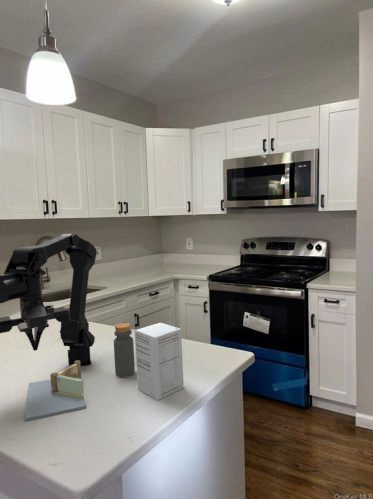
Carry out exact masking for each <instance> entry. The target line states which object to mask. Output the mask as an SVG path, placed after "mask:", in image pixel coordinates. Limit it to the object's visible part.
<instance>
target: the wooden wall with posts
mask: <svg viewBox="0 0 373 499" xmlns="http://www.w3.org/2000/svg"><path fill="white" fill-rule="evenodd" d="M81 368H82V366H81V367H80V361H79V360H77V361H75V364H73V365H71V366H70V365H69V366H68V367H66V368H64V369H62V370H61V371H59V372H52V373H50V375H49V376H50V378H49V379H51V391H52V392H57V391H58V387H57V376H59V375H62V376H67V377H72V378H78V377H80V376H81V377H80V379H81V380H82V371H81V370H82V369H81Z"/></svg>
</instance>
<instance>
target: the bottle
mask: <svg viewBox="0 0 373 499" xmlns="http://www.w3.org/2000/svg"><path fill="white" fill-rule="evenodd" d="M131 326H132V325H131V323H128V322H122V323H121V322H120V323H117V324H115V325H114V328H115V330H114V336H115V338H114V339H113V352H114V353H113V354H114V372H115V376H116V377H118V378H128V377H131V376H133V375H134V374H136V372H135V371H136V368H135V367H136V366H135V364H136V363H135V348H134V347H135V346H134V338H133V337H132V336H131V335H132V334H133V333H132V331H133V330H132V329H131Z"/></svg>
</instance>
